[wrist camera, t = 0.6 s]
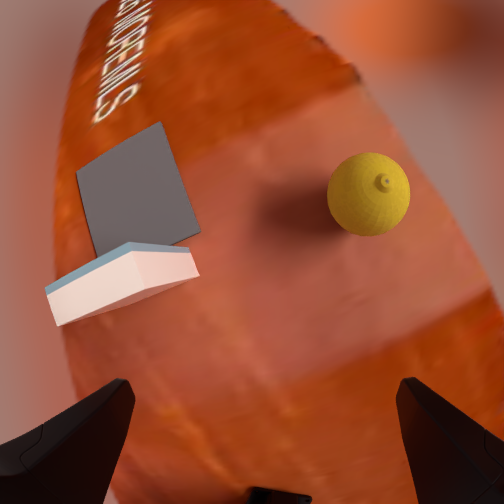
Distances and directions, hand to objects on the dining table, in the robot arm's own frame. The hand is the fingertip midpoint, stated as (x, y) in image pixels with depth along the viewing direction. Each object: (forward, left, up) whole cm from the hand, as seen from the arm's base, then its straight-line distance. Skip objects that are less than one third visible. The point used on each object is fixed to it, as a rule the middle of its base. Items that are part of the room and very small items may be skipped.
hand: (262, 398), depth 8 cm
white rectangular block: (0, +10, -15) cm, 18 cm away
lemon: (+10, -4, -15) cm, 18 cm away
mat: (+6, +15, -15) cm, 22 cm away
